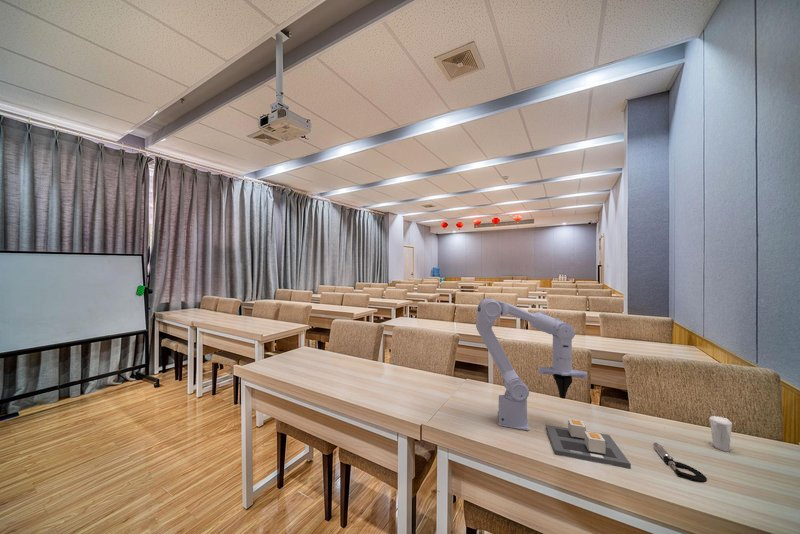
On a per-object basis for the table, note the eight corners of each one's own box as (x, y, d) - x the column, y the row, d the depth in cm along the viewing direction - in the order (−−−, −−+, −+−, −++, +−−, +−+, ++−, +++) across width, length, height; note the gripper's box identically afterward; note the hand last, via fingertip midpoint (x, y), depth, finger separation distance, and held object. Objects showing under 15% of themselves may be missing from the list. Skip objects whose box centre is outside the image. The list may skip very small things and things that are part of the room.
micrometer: (713, 487, 70) (713, 477, 70) (676, 479, 73) (675, 468, 73) (682, 453, 84) (682, 444, 84) (651, 447, 87) (651, 439, 87)
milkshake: (723, 444, 88) (722, 411, 89) (737, 454, 83) (736, 419, 84) (704, 441, 90) (703, 408, 90) (716, 450, 85) (715, 416, 85)
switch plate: (555, 454, 82) (555, 449, 82) (545, 428, 96) (545, 424, 96) (630, 468, 76) (630, 463, 76) (609, 438, 90) (609, 434, 90)
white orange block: (571, 436, 88) (571, 424, 88) (567, 429, 92) (567, 418, 92) (586, 438, 87) (585, 426, 87) (582, 432, 91) (582, 420, 91)
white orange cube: (588, 451, 81) (588, 437, 81) (584, 443, 85) (584, 430, 85) (605, 454, 80) (605, 440, 80) (600, 446, 83) (600, 433, 84)
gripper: (540, 357, 96) (540, 398, 96) (590, 362, 92) (590, 405, 91) (537, 352, 103) (537, 390, 103) (583, 356, 99) (584, 396, 98)
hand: (562, 397), depth 97 cm, fingers closed
